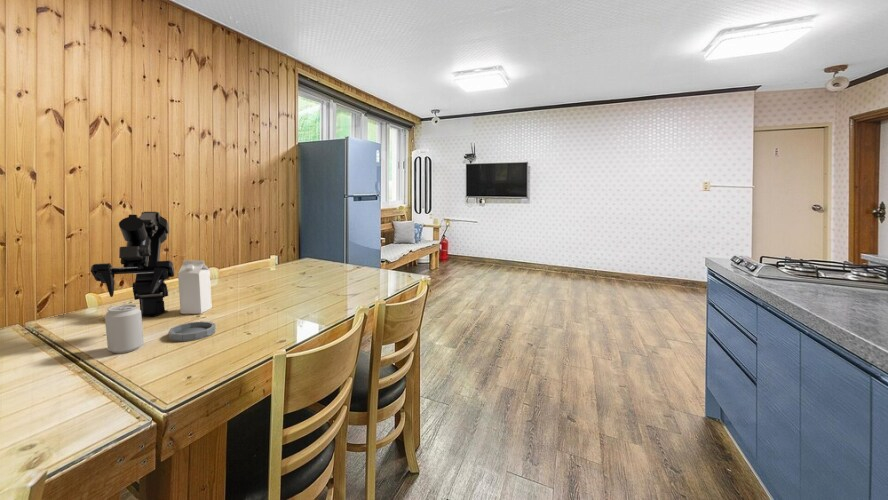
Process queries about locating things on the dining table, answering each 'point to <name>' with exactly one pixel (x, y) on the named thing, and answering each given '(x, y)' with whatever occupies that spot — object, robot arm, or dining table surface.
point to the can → (124, 328)
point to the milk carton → (194, 287)
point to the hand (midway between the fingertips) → (131, 294)
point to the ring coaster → (192, 331)
